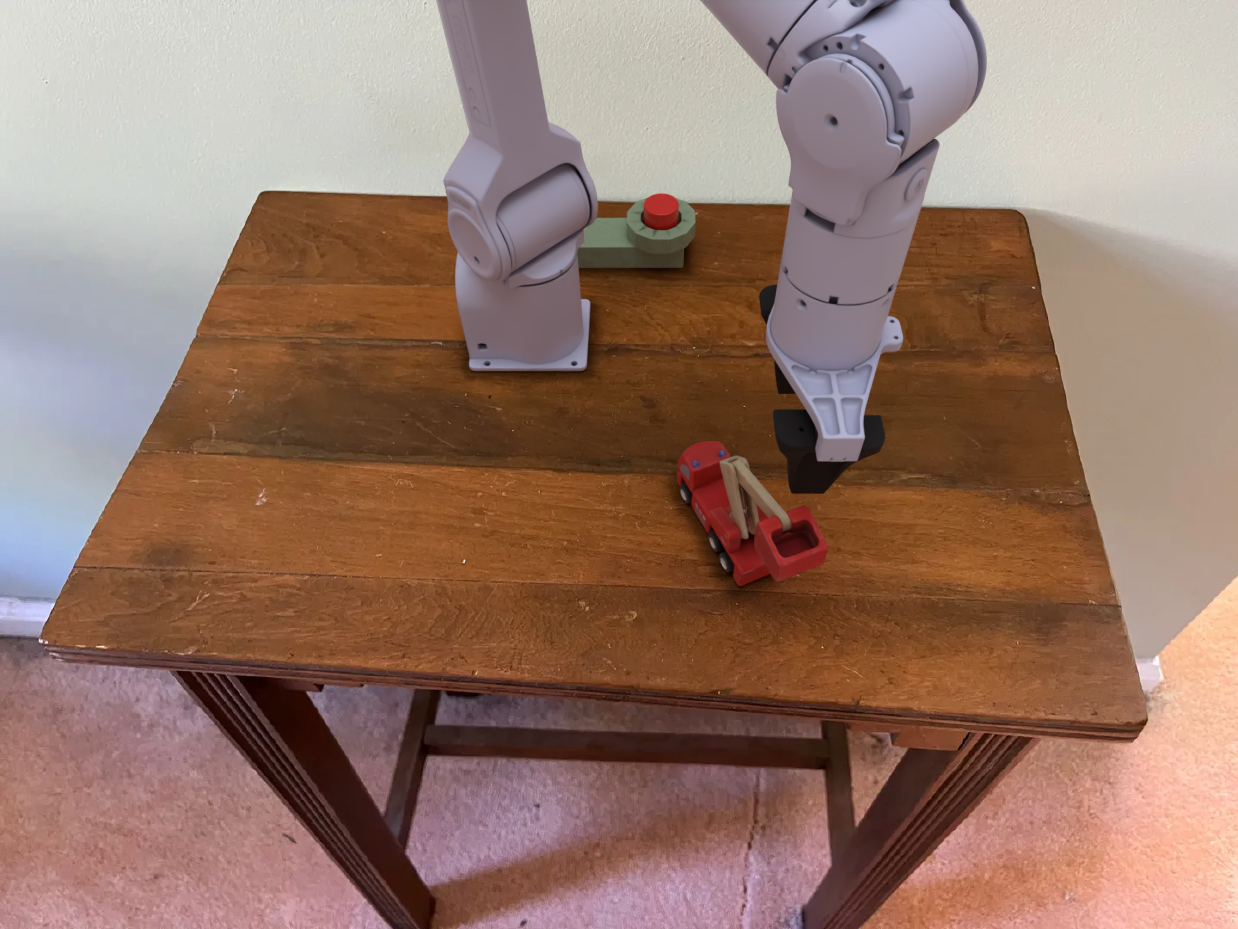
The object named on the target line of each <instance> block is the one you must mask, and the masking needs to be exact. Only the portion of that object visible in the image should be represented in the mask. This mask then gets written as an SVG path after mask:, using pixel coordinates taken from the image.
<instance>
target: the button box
mask: <svg viewBox="0 0 1238 929" xmlns="http://www.w3.org/2000/svg"><path fill="white" fill-rule="evenodd" d="M647 198H648V197H645V198H643V199H640V200H637V201H636V202H634V204H633V205H632V206H631V207H630V208H629V209H628V210H627V211H626V217H596V220H595V221H594V223H593V224H591V225H590V226H588V227H586V228H584V229H583V230H584V243H583V244H582V245H581V246H580V247H579V248H578V251H577V255H578V268H579V269H680V268H681V269H682V268H684V259H685V258H684V257H685V254H684V253H685V248H687V247H688V246H689V244H690V243H692V241H693V240H694V238H696V237H695V236H696V211H695V210H694V208H693V207H692V206H691V205H690V204H689V203H688V202H687V201H685V200H683V199H680V198H676V197H675V198H676V199H677V200H678V203H679V217H678V223H677V225H676V226H675V227H674V228H672V229H669V230H654V229H651V228H648V227H647V226H646V225H645V223H644V202H645V200H646V199H647Z"/></svg>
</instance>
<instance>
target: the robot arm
mask: <svg viewBox="0 0 1238 929" xmlns="http://www.w3.org/2000/svg"><path fill="white" fill-rule="evenodd" d="M435 1H436V5H437V10H438V13H439V18H440V21H441V25H442V29H443V33H444V37H445V42H446V45H447V49H448V53H449V58H450V62H451V65H452V69H453V73H454V77H455V81H456V85H457V89H458V92H459V93H458V94H459V97H460V101H461V105H462V109H463V113H464V117H465V120H466V124H467V129H468V135H467V137H466V139H465V141H464V143H463V144H462V146H461V147H460V149H459V151H458V153H457V154H456V156H455V157H454V159H453V161H452V162H451V164H450V165H449V168H447V171H446V173H445V175H444V177H443V179H442V182H443V185H444V188H445V194H446V200H447V219H446V220H447V228H448V233H449V236H450V238H451V242H452V243H453V245H454V248H455V250H456V251H457V255H456V260H455V269H454V270H455V271H454V286H455V287H454V288H455V296H456V304H457V310H458V314H459V318H460V323H461V326H462V331H463V336H464V339H465V344H466V347H467V352H468V356H469V361H468V367H469V369H470V370H471V371H473V372H583V371H585V370H586V369H587V367H588V356H589V355H588V353H589V335H590V322H591V320H590V319H591V301H590V300H589V299H587V298H582V294H581V283H580V281H581V280H580V270H579V269H580V268H578V255H577V251H578V248H579V247H580V246H581V245H582V244H583V243H584V230H583V229H584V228H586V227H588V226H590V225H591V224H593V223H594V221H595V220H596V218H598V212H599V201H598V200H599V199H598V192H597V189H596V188H597V187H596V185H595V183H594V180H593V177H592V176H591V173H590V172H589V170H588V168H587V165H586V163H585V160H584V156H583V151H582V149H583V148H582V143H581V142H580V141H579V139H578V138H576V137H575V136H574V135H573V134H572V133H571V132H569V131H567V130H566V129H565V128H563V127H561V126H559V125H557V124H555V123H553V122H549V120H548V113H547V108H546V102H545V96H544V90H543V85H542V79H541V74H540V67H539V62H538V58H537V51H536V46H535V40H534V34H533V28H532V23H531V18H530V13H529V12H530V11H529V7H528V6H529V5H528V0H435ZM699 1H700V2H701V3H702V4H703V5H704V7H706V9H707V10H708V11H709V12H710V13H711V14H712V16H713V17H714V18H715V19H716V20H717V21H718V22H719V23H720V25H721V26H722V27H723V28H724V29H725V30H726V32H728V34H729V35H730V36H731V37H732V38H733V39H734V41H736V43H737V44H738V45H739V46H740V48H742V50H743V51H744V52H745V54H747V55H748V57H750V59H751V60H752V61H753V62H754V64H756V65H757V67H758V68H759V69H760V70H761V71H762V73H764V74H765V76H766V77H767V78H768V79H769V80H770V81H771V82H772V84H773V85H774V86H775V87H776V88H777V89H776V95H775V96H776V97H775V108H776V117H777V123H778V127H779V130H780V133H781V136H782V139H783V141H784V143H785V145H786V147H787V150H788V153H789V158H790V159H789V160H790V170H789V176H788V184H787V185H788V187H789V188H791V189H792V191H791V196H790V204H789V209H788V215H787V216H788V217H787V222H786V229H785V233H784V234H785V235H784V241H783V247H782V253H781V259H780V264H779V271H778V279H777V284H770V285H767V286H764V287H763V288H762V289H761V290H760V291H759V294H758V300H759V301H758V302H759V308H760V315H761V318H762V319H763V321H764V323H765V325H766V329H765V342H766V343H765V344H766V346H767V349H768V351H769V353H770V355H771V357H772V358H773V362H774V363H773V364H774V366H773V367H774V376H775V383H776V384H775V385H776V389H777V393H778V395H796V396H797V398H798V400H799V401H800V403H801V404H802V406H803V408H800V409H799V408H797V409H795V408H794V409H793V408H792V409H791V408H790V409H786V408H785V409H784V408H783V409H781V408H780V409H776V408H775V409H773V410H772V419H773V420H772V421H773V428H774V437H775V441H776V444H777V447H778V449H779V452H780V453H781V454H782V455H783V456H784V457H785V458H786V473H787V481H788V489H789V491H790V494H793V495H823V494H825V493H826V492H827V491H828V490H829V489H830V488H831V487H832V486H833V485H834V483H835V482H836V481H837V480H838V479H839V477H840V476H841V475H842V474H843V473H844V472H845V471H846V470H847V469H849V468H850V467H851V466H853V465H854V464H856V463H858V462H860V461H862V460H863V459H865V458H868V457H871V456H874V455H877V454H879V453H880V452H881V450H882V448H883V446H884V444H885V441H886V432H885V428H884V422H883V418H882V415H881V414H865V412H866V408H867V404H868V400H869V396H870V393H871V389H872V386H873V382H874V379H875V376H876V375H875V374H876V371H877V368H878V364H879V361H880V358H881V356H882V355H883V354H884V353H894V352H898V351H899V350H901V348H902V345H903V343H904V334H903V330H902V326H901V322H900V320H899V319H898V318H896V317H894V316H891V315H889V314H890V310H891V307H892V303H893V300H894V297H895V295H896V294H895V293H896V290H897V288H898V287H897V286H898V284H899V280H900V278H901V275H902V271H903V268H904V264H905V262H906V259H907V255H908V252H909V248H910V246H911V242H912V239H913V237H914V236H913V235H914V232H915V229H916V226H917V222H918V219H919V216H920V212H921V210H922V206H923V203H924V200H925V196H926V191H927V189H928V185H929V182H930V178H931V175H932V171H933V169H934V165H935V162H936V159H937V156H938V152H939V149H940V141H939V140H938V139H937V137H938V136H940V135H941V134H943V133H945V131H947V130H948V129H950V128H951V127H952V126H953V125H955V124H956V123H957V122H958V121H959V120H960V119H961V118H962V117H963V116H964V115H965V114H966V113H967V112H968V111H969V110H970V109H971V108H972V107H973V105H974V104H975V102H977V100H978V98H979V96H980V94H981V92H982V89H983V87H984V83H985V80H986V75H987V66H988V58H987V57H988V54H987V47H986V43H985V38H984V35H983V33H982V30H981V28H980V25H979V24H978V22H977V20H976V18H975V17H974V15H973V14H972V12H970V11H969V9H968V7H967V5H966V3H965V0H699Z"/></svg>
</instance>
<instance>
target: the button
mask: <svg viewBox="0 0 1238 929" xmlns="http://www.w3.org/2000/svg"><path fill="white" fill-rule="evenodd" d="M646 198H647V199H646V200H645V202H644V223H645V225H646V226H647V227H648V228H651V229H654V230H669V229H672V228H674V227H675V226H676V225H677V223H678V217H679V203H678V200H677V199H678V198H677V199H676V197H675V196H673V195H672V194H669V193H664V192H663V193H654V194H651V195H649V196H648V197H646Z"/></svg>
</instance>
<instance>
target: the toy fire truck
mask: <svg viewBox="0 0 1238 929" xmlns="http://www.w3.org/2000/svg"><path fill="white" fill-rule="evenodd" d="M676 482H677V485H678V486H679V495H680V497H681V499H682V500H683V502H684V503H685V504H690V505H691V508H692V510H693V511H694V513H695V515H696V517H697V518H698V520H699V521H700V523H701V525H702V526H703V528H704V530H705V532H706V533H707V534H708V536H707V537H708V538H707V539H708V543H709V545H710V547H711V549H712V551H713V552H715V553H719V555H718V557H719V558H718V559H719V562H720V565H721V567H722V569H723V571H724V572H725V573H726V574H728V573H732V572H733V574H732V577H733V579H734V581H735V584H736V585H737V586H738V587H743V586H745V585H746V584H750V583H753V582H754V581H757V580H759V579H761V578H763V577H764V578H765V577H766V576H769V575H770V576H771V577H772V578H773V580H774V581H775V582H776V583H779V582H782V581H785V580H787V579H790V578H792V577H794V576H797V575H800V574H802V573H805V572H807V571H809V570H813V569H815V568H816V567H817V568H818V567H820V566H822V565H824V564H825V561H826V558H827V555H828V551H829V545H828V542H827V540H826V538H825V537H824V534H823V533H822V531H821V529H820V527H819V525H818V522H817V521H816V519H815V518H814V515H813V513H812V511H811V510H810V508H809V506H808V505H806V504H804V505H801V506H798V507H794V508H792V509H790V510H787V511H786V510H784V509H783V508H782V506H781V505H780V504H779V503H778V502H777V500H776V499H774V497H773V495H771V494H770V493H769V491H768V490H767V489H766V487H764V486H763V484H762V483H761V482H760V481H759V479H758V478H757V477H756V476H755V475H754V474H753V472H752V471H751V467H750V463H749V461H748V460H747V458H745V457H743V456H740V455H733V456H732V455H731V454H730V453H729V451H728V450H727V448H726V447H725V445H724V444H723V443H722V442H720V441H718V440H716V441H715V440H709V441H708V440H707V441H701V442H695V443H694V444H691V445H690V446H688V447H687V448H686V449H685V450H684V451H683V452H682V453H681V455H680V456H679V458H678V461H677V470H676ZM723 549H724V550H725V551H723ZM722 551H723V552H722Z"/></svg>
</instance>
